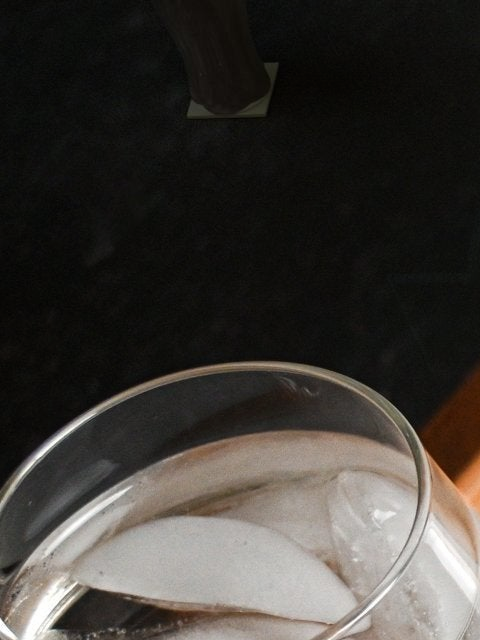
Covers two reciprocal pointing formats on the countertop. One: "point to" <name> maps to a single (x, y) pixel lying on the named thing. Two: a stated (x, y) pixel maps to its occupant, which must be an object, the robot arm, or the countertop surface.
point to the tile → (255, 111)
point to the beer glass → (217, 53)
